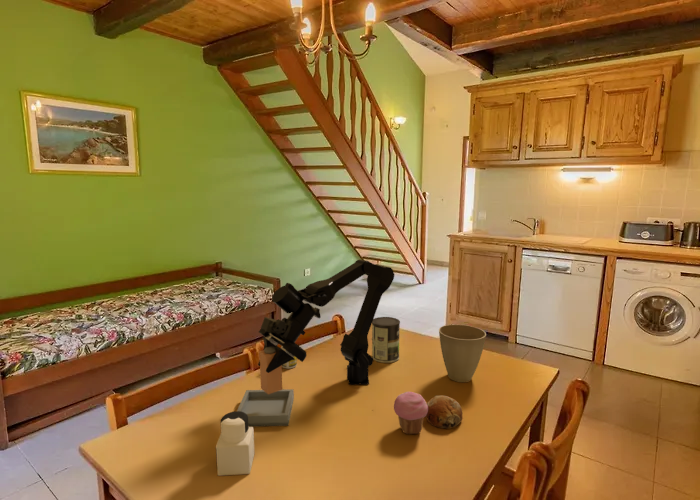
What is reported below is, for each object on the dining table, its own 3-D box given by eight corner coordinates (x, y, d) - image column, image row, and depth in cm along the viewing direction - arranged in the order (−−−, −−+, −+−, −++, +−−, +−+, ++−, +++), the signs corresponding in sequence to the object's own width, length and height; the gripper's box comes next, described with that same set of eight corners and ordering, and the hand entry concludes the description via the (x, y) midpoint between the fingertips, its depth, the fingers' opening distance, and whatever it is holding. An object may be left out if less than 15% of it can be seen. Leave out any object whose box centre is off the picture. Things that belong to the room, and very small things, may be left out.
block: (275, 383, 117) (273, 344, 115) (282, 389, 114) (281, 349, 112) (261, 388, 115) (259, 348, 113) (268, 394, 111) (266, 353, 109)
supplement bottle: (298, 362, 147) (297, 336, 146) (294, 369, 142) (294, 342, 140) (283, 362, 148) (282, 336, 146) (279, 368, 142) (278, 342, 141)
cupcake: (432, 438, 103) (433, 401, 101) (398, 442, 101) (399, 404, 100) (420, 418, 111) (421, 384, 110) (389, 421, 110) (389, 387, 108)
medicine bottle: (224, 455, 96) (221, 408, 95) (254, 453, 97) (252, 406, 95) (216, 476, 89) (214, 426, 88) (250, 474, 90) (247, 424, 88)
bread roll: (462, 428, 113) (464, 398, 115) (460, 432, 104) (462, 399, 106) (426, 421, 116) (429, 392, 119) (421, 425, 107) (424, 393, 109)
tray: (293, 398, 122) (293, 389, 122) (288, 425, 108) (287, 415, 108) (246, 399, 122) (246, 390, 121) (235, 426, 108) (234, 416, 107)
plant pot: (483, 391, 126) (485, 342, 124) (434, 384, 131) (436, 336, 129) (484, 370, 140) (486, 326, 138) (440, 365, 145) (441, 321, 143)
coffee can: (397, 351, 157) (398, 316, 155) (400, 363, 147) (401, 325, 144) (371, 351, 157) (371, 316, 155) (372, 363, 147) (372, 325, 145)
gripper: (263, 299, 120) (229, 343, 115) (295, 314, 105) (257, 366, 100) (288, 319, 126) (256, 362, 121) (321, 336, 111) (286, 387, 106)
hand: (263, 368), depth 112 cm, fingers closed on block, 4 cm apart
